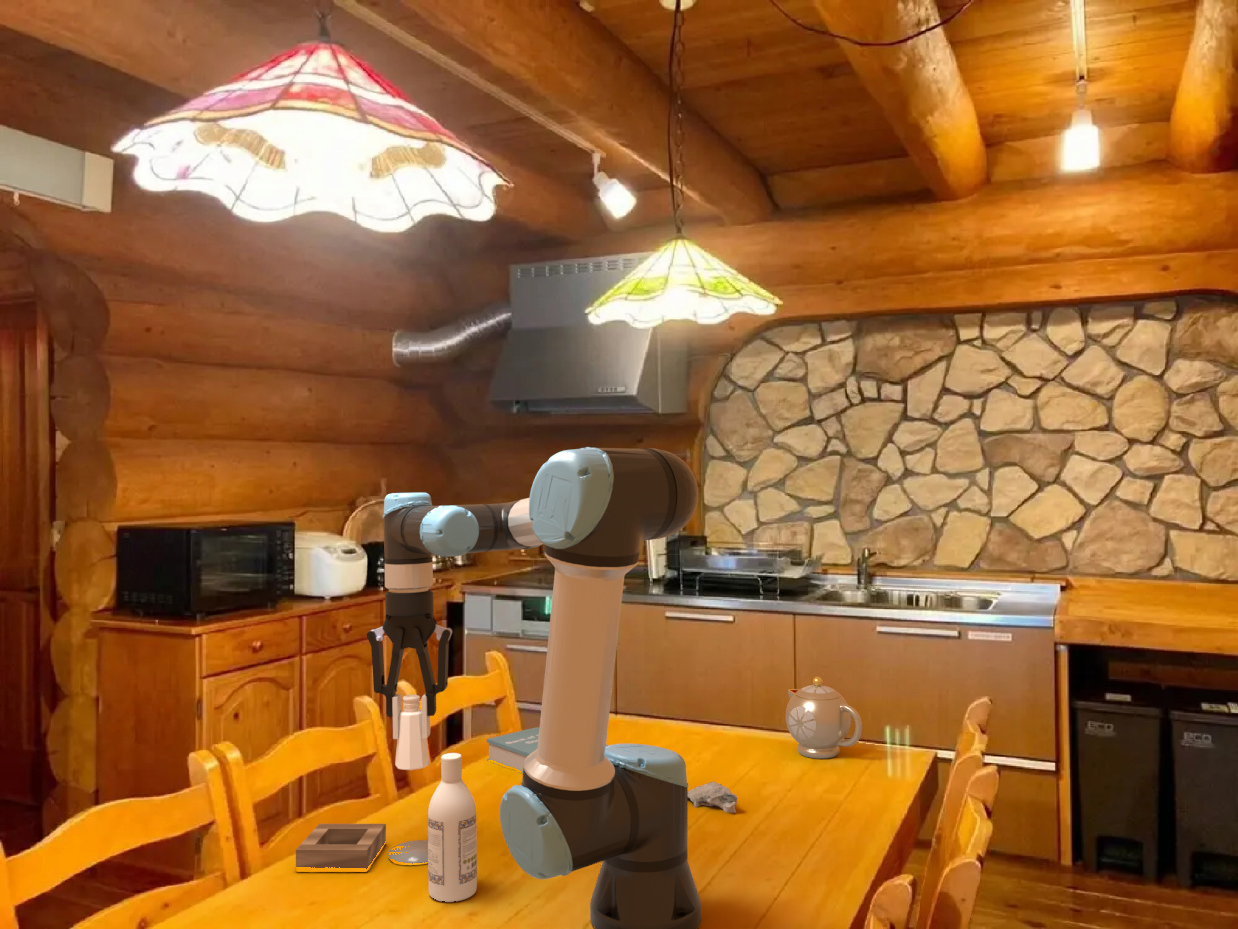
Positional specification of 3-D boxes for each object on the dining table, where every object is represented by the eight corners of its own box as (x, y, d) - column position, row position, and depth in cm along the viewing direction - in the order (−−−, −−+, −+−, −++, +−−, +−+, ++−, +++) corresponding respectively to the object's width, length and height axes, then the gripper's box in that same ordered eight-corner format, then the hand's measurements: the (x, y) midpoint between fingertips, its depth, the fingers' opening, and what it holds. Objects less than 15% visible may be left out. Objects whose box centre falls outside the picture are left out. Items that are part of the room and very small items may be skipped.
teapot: (770, 753, 210) (769, 676, 210) (806, 740, 220) (806, 667, 220) (844, 771, 198) (843, 689, 198) (879, 756, 208) (878, 678, 208)
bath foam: (478, 881, 147) (476, 747, 147) (475, 902, 141) (474, 761, 140) (430, 884, 147) (429, 749, 147) (426, 905, 140) (424, 763, 140)
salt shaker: (431, 759, 160) (430, 691, 160) (427, 769, 155) (425, 699, 155) (398, 761, 160) (396, 692, 160) (392, 771, 155) (390, 700, 155)
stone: (707, 821, 172) (707, 798, 172) (678, 797, 184) (679, 775, 184) (740, 817, 175) (740, 793, 175) (710, 793, 186) (710, 771, 186)
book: (487, 762, 208) (486, 739, 208) (547, 747, 219) (546, 724, 219) (554, 788, 191) (554, 762, 191) (616, 770, 202) (615, 745, 202)
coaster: (439, 866, 153) (439, 862, 153) (381, 866, 153) (381, 862, 153) (450, 844, 162) (450, 840, 162) (395, 844, 162) (395, 840, 162)
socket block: (367, 873, 151) (367, 850, 151) (295, 873, 151) (295, 850, 151) (386, 845, 162) (385, 823, 162) (319, 845, 162) (319, 823, 162)
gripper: (466, 585, 161) (468, 729, 161) (362, 587, 161) (364, 731, 161) (458, 591, 154) (461, 742, 154) (349, 593, 154) (352, 744, 154)
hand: (411, 736), depth 157 cm, fingers closed on salt shaker, 4 cm apart
